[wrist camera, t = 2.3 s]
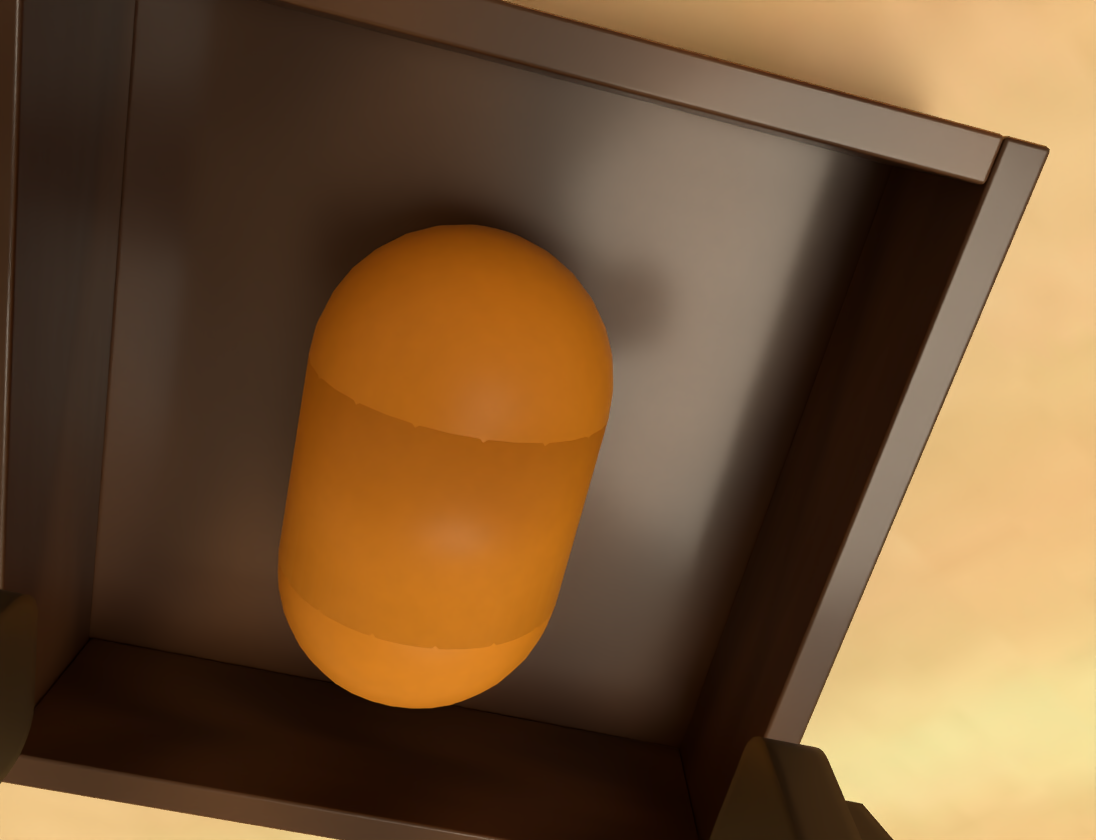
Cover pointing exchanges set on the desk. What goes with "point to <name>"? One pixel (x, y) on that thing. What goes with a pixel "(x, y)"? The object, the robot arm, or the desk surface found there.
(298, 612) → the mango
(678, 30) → the desk surface
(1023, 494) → the desk surface
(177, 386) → the wooden tray
